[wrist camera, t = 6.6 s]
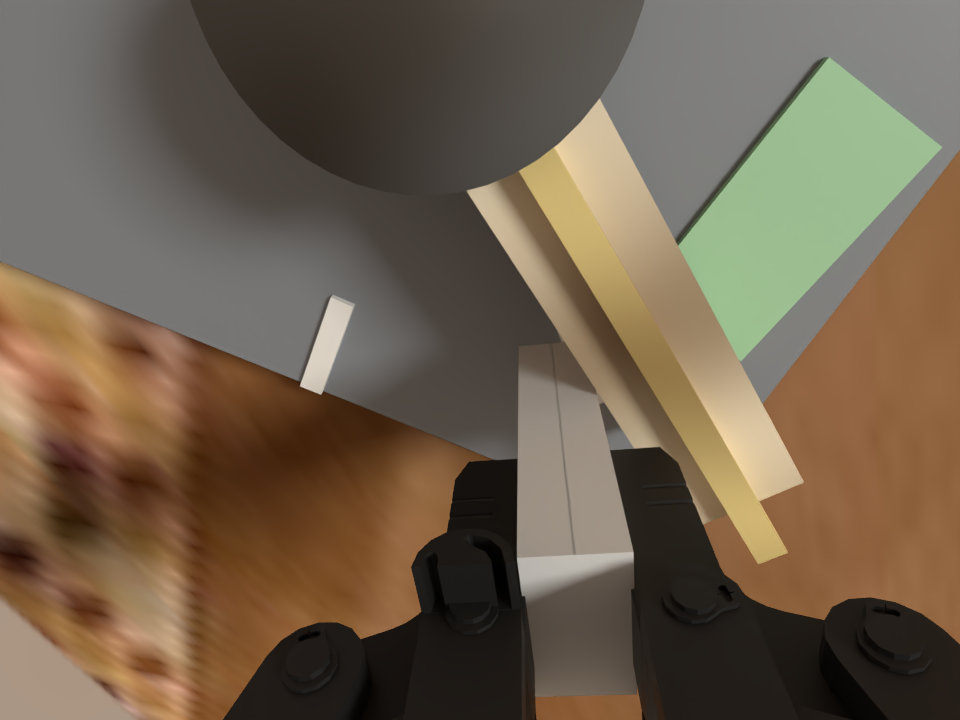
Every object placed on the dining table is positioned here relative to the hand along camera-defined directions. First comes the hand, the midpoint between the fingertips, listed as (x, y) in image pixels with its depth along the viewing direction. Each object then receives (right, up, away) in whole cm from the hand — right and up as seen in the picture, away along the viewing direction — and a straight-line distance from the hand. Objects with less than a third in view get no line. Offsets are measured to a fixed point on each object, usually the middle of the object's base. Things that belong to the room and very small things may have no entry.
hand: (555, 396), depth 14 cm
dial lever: (0, +5, 0) cm, 5 cm away
